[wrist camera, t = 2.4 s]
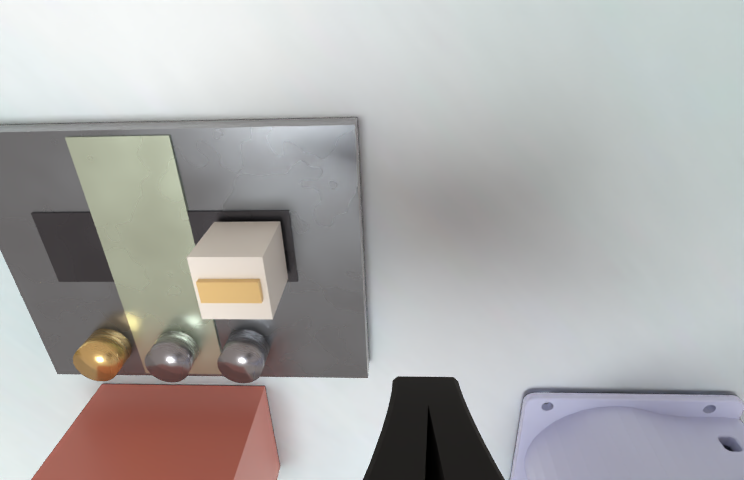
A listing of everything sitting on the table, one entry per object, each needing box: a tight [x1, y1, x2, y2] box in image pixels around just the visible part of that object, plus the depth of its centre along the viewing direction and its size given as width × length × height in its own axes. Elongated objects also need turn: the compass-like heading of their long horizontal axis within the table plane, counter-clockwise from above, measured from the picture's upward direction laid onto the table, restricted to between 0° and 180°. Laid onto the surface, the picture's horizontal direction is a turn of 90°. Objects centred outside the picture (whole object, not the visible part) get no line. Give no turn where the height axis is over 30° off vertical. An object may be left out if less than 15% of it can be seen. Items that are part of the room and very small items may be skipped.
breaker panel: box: [0, 117, 369, 383], centre depth 18 cm, size 14×11×2 cm
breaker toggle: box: [187, 221, 288, 319], centre depth 16 cm, size 2×2×3 cm
